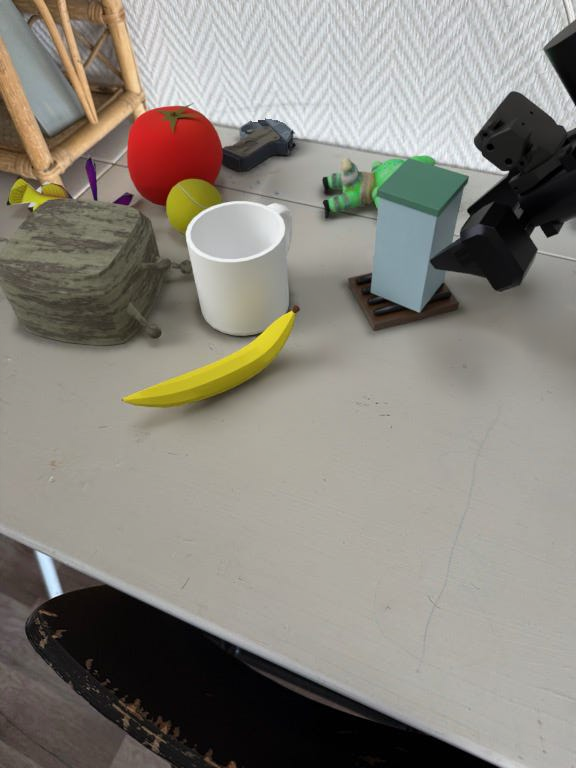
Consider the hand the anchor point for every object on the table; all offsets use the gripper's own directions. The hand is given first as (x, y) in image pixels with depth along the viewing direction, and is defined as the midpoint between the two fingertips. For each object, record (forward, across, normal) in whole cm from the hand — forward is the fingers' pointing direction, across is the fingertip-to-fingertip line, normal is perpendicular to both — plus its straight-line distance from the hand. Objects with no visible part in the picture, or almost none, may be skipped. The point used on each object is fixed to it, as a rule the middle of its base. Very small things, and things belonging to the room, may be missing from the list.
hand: (451, 237), depth 58 cm
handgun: (+36, -14, -24) cm, 45 cm away
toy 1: (+36, +4, -31) cm, 48 cm away
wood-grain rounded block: (+21, +14, -14) cm, 29 cm away
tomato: (+35, -4, -21) cm, 41 cm away
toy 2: (+21, -11, -10) cm, 25 cm away
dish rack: (+10, 0, +4) cm, 11 cm away
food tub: (+8, 0, +3) cm, 9 cm away
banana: (+17, +21, -3) cm, 27 cm away
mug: (+20, +9, -6) cm, 23 cm away
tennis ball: (+24, +3, -16) cm, 29 cm away
